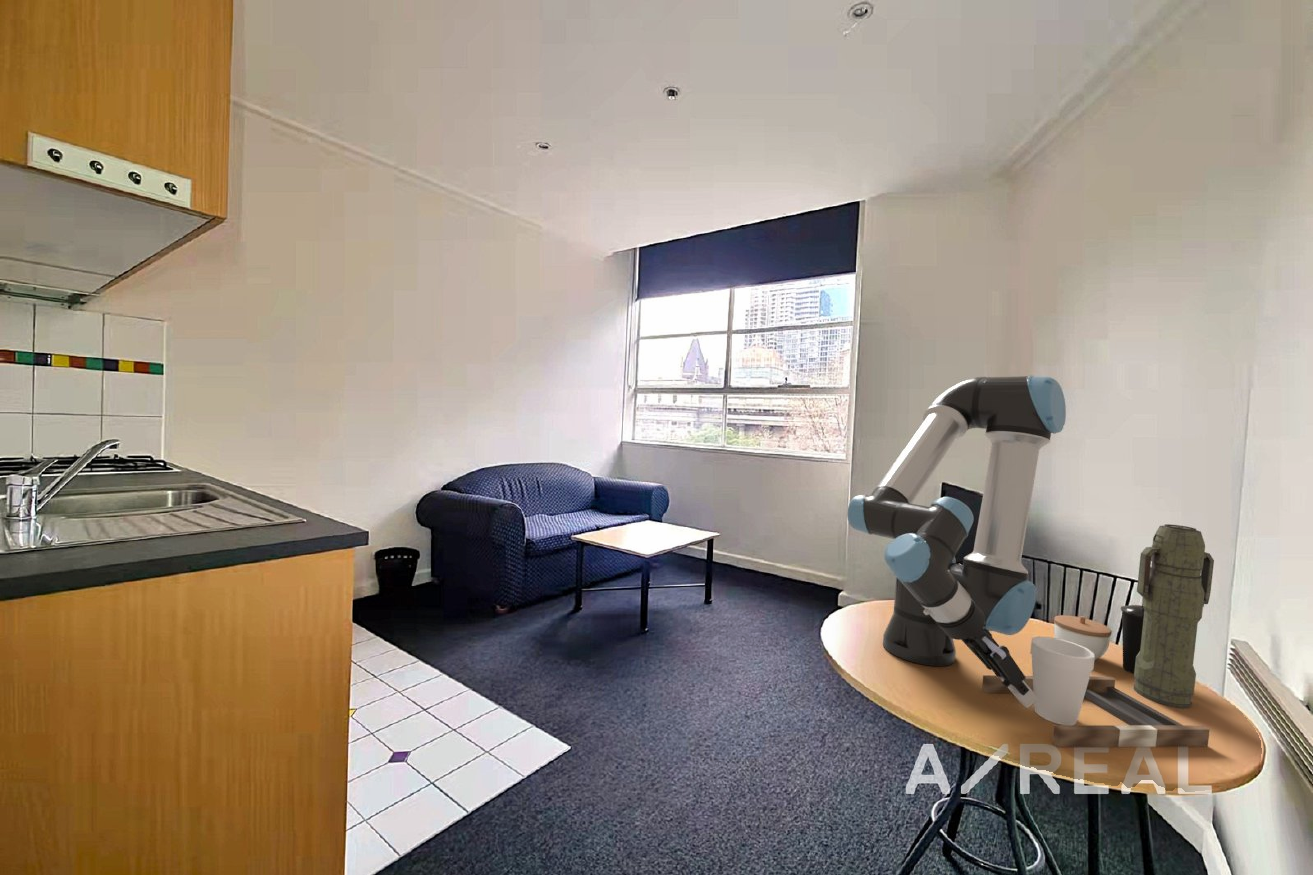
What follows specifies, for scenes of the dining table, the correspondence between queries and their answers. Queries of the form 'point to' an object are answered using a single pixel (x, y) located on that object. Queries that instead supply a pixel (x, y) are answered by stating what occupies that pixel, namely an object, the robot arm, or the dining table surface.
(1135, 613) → the drinking cup
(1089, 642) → the lidded jar
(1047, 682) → the foam cup
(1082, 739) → the lane
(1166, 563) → the thermos
